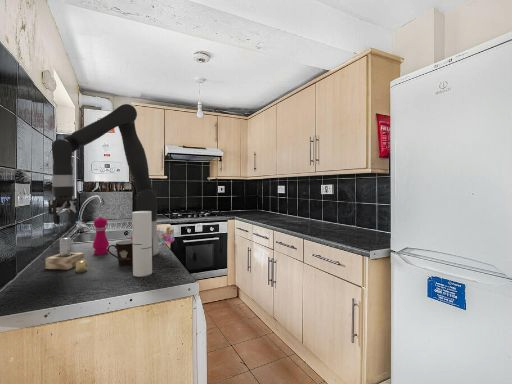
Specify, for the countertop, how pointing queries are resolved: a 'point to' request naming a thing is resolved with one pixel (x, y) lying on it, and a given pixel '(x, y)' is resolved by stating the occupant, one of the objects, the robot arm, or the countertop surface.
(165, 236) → the candy landscape model
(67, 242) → the long pin
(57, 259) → the socket block
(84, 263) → the short pin
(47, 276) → the countertop surface
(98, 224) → the pepper mill
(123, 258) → the coffee mug
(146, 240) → the cylindrical container
